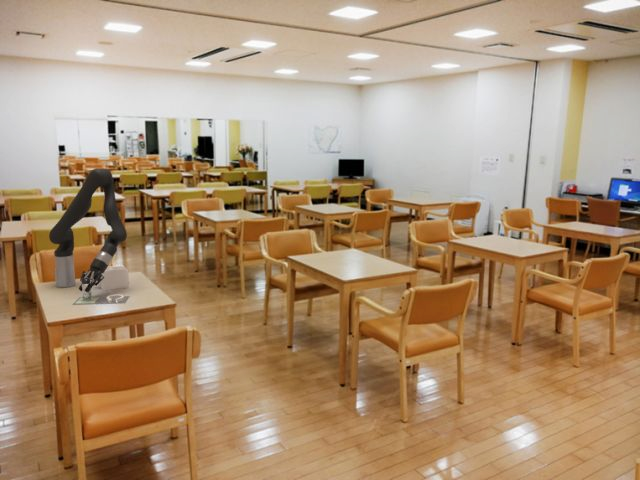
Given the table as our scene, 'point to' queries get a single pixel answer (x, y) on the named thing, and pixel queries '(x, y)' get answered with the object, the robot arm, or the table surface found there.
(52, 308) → the table surface
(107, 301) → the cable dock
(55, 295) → the table surface
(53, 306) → the table surface
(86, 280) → the clear glass bottle
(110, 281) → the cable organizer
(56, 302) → the table surface
